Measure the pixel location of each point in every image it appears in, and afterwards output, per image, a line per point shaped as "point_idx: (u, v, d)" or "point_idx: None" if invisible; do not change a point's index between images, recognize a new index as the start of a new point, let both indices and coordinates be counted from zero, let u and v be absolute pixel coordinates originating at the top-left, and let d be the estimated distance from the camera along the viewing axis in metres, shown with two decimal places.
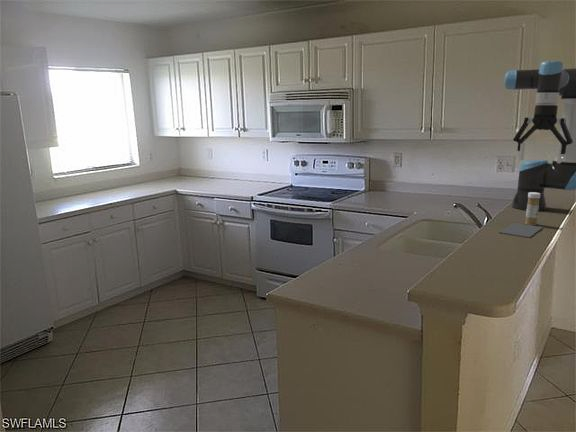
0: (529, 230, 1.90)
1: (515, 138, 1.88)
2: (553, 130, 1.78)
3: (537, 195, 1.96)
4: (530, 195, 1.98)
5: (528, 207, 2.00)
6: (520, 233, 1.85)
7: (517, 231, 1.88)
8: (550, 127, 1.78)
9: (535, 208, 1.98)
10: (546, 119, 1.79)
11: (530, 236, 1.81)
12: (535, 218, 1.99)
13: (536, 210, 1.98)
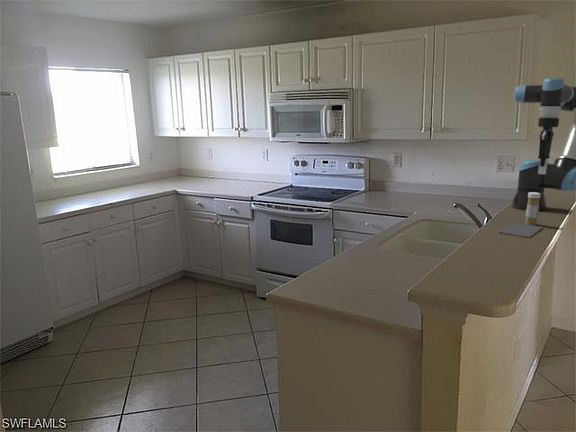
0: (529, 230, 1.90)
1: None
2: None
3: (537, 195, 1.96)
4: (530, 195, 1.98)
5: (528, 207, 2.00)
6: (520, 233, 1.85)
7: (517, 231, 1.88)
8: None
9: (535, 208, 1.98)
10: None
11: (530, 236, 1.81)
12: (535, 218, 1.99)
13: (536, 210, 1.98)
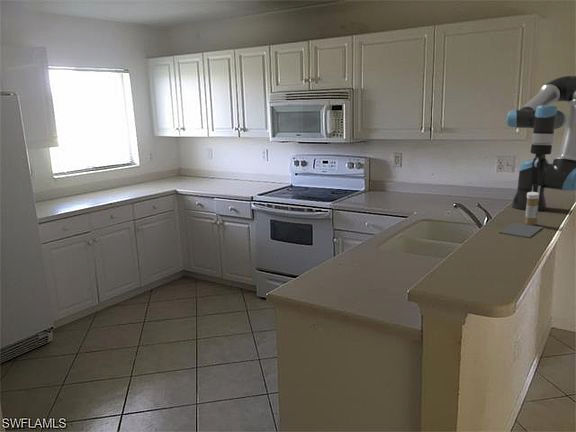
0: (529, 230, 1.90)
1: None
2: None
3: (536, 196, 1.95)
4: (529, 196, 1.96)
5: (527, 208, 1.99)
6: (520, 233, 1.85)
7: (517, 231, 1.88)
8: None
9: (534, 209, 1.97)
10: (536, 154, 1.96)
11: (530, 236, 1.81)
12: (535, 218, 1.99)
13: (535, 210, 1.97)
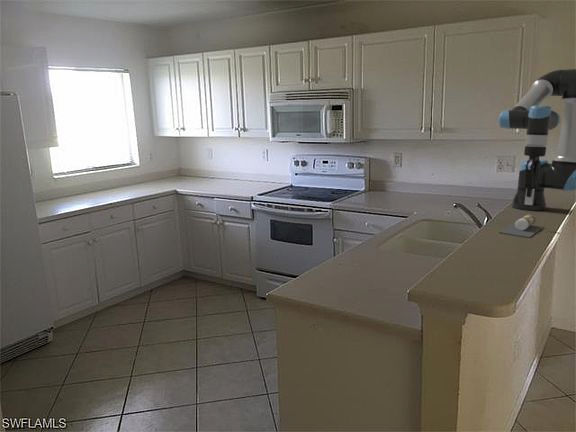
0: (529, 230, 1.90)
1: None
2: None
3: None
4: None
5: None
6: (520, 233, 1.85)
7: (517, 231, 1.88)
8: None
9: None
10: None
11: (530, 236, 1.81)
12: (532, 223, 1.96)
13: (530, 225, 1.94)
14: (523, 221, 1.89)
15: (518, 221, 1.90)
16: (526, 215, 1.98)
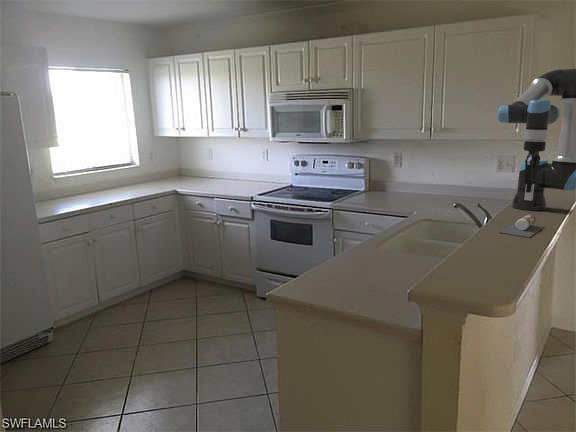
0: (529, 230, 1.90)
1: None
2: None
3: (525, 229, 1.89)
4: None
5: None
6: (520, 233, 1.85)
7: (517, 231, 1.88)
8: None
9: (528, 226, 1.93)
10: None
11: (530, 236, 1.81)
12: (532, 223, 1.96)
13: (530, 225, 1.94)
14: (523, 221, 1.88)
15: (518, 221, 1.90)
16: (526, 215, 1.98)
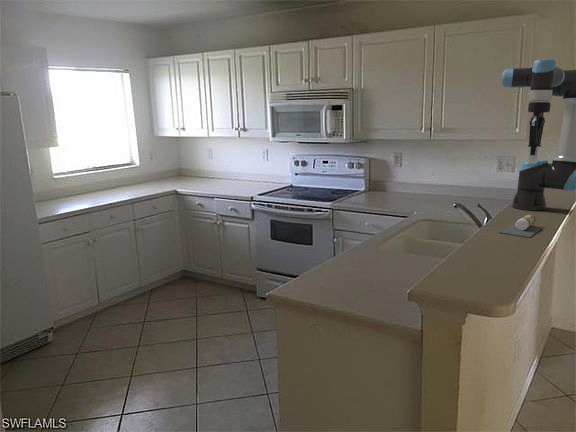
0: (529, 230, 1.90)
1: None
2: None
3: (525, 229, 1.89)
4: None
5: None
6: (520, 233, 1.85)
7: (517, 231, 1.88)
8: None
9: (528, 226, 1.93)
10: None
11: (530, 236, 1.81)
12: (532, 223, 1.96)
13: (530, 225, 1.94)
14: (523, 221, 1.88)
15: (518, 221, 1.90)
16: (526, 215, 1.98)
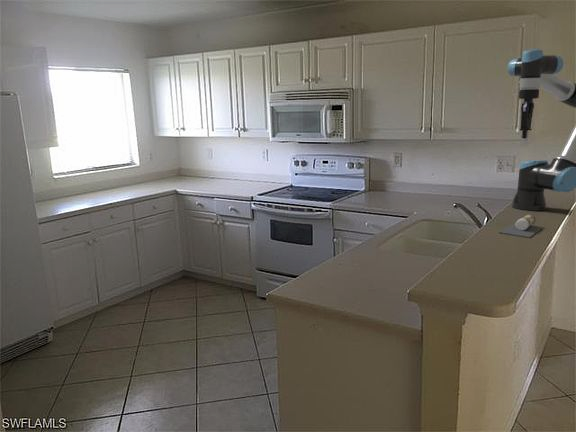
0: (529, 230, 1.90)
1: None
2: None
3: (525, 229, 1.89)
4: None
5: None
6: (520, 233, 1.85)
7: (517, 231, 1.88)
8: None
9: (528, 226, 1.93)
10: None
11: (530, 236, 1.81)
12: (532, 223, 1.96)
13: (530, 225, 1.94)
14: (523, 221, 1.88)
15: (518, 221, 1.90)
16: (526, 215, 1.98)
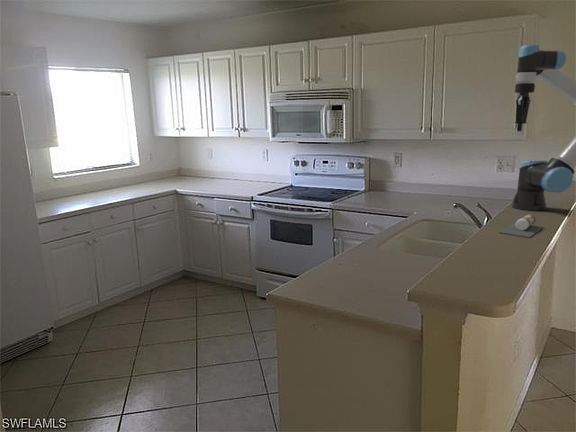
0: (529, 230, 1.90)
1: None
2: None
3: (525, 229, 1.89)
4: None
5: None
6: (520, 233, 1.85)
7: (517, 231, 1.88)
8: None
9: (528, 226, 1.93)
10: None
11: (530, 236, 1.81)
12: (532, 223, 1.96)
13: (530, 225, 1.94)
14: (523, 221, 1.88)
15: (518, 221, 1.90)
16: (526, 215, 1.98)
